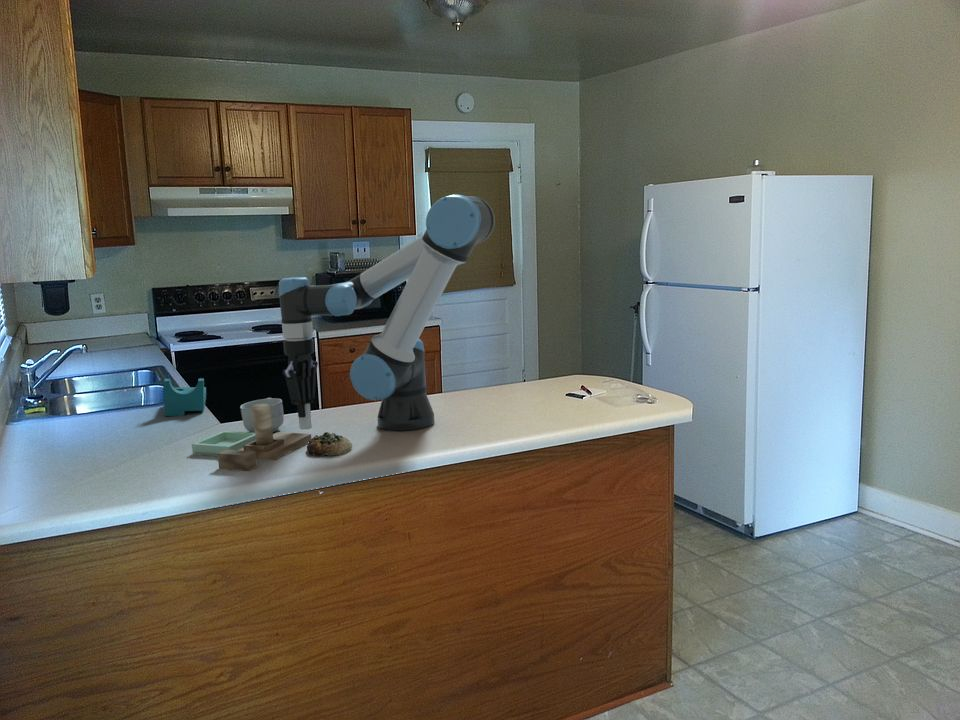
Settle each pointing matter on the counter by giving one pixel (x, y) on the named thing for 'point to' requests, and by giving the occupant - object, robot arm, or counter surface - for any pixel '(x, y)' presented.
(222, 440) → the tray
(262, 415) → the dowel
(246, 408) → the teacup
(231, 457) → the block
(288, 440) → the brown slotted slab
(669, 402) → the counter surface
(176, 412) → the teal notched cradle
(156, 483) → the counter surface
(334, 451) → the bread roll
